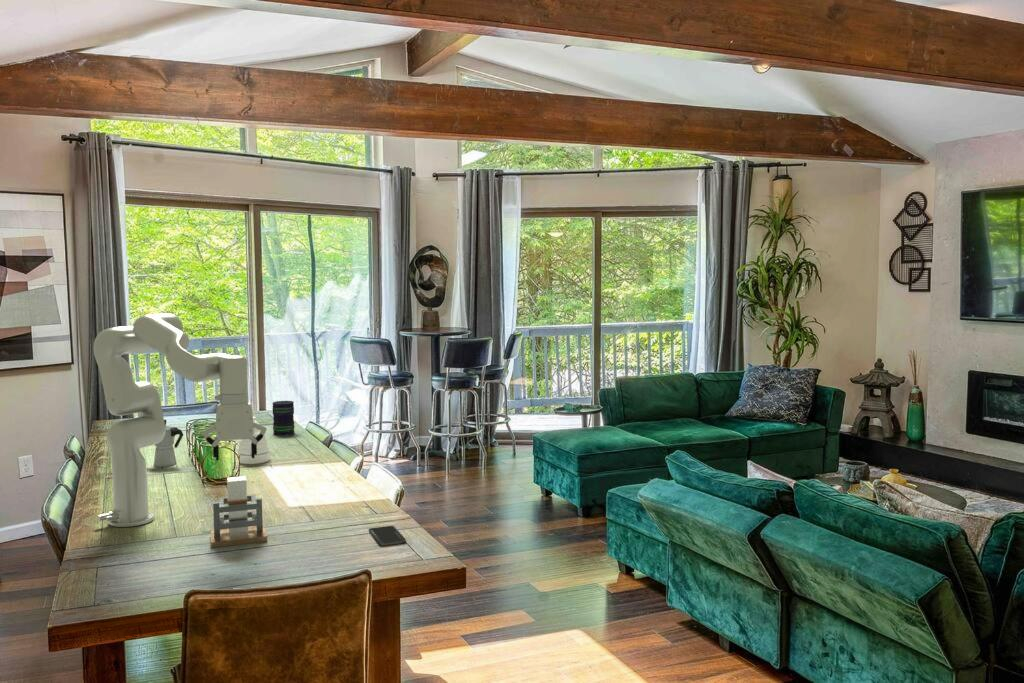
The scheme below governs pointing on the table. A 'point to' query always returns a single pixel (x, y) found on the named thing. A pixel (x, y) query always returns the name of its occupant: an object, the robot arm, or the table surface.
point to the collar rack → (238, 523)
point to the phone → (387, 536)
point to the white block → (237, 496)
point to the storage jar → (283, 418)
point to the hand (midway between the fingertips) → (235, 458)
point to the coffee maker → (167, 447)
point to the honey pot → (262, 449)
